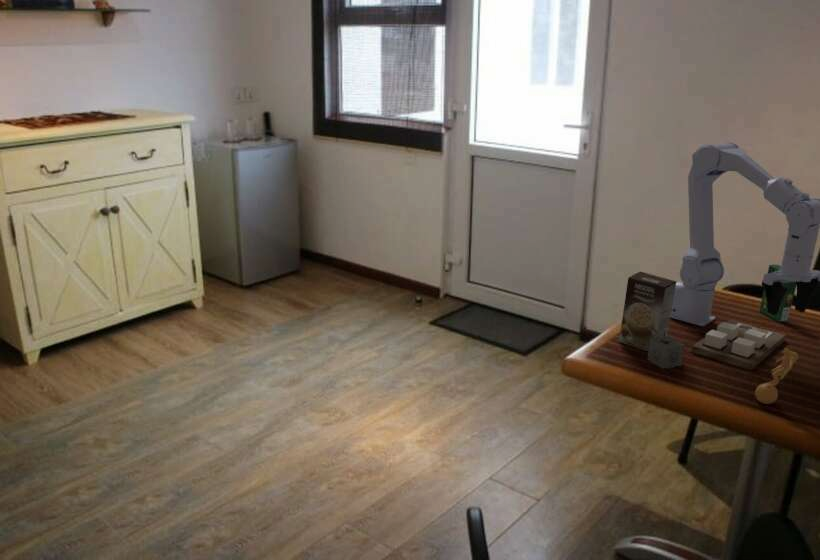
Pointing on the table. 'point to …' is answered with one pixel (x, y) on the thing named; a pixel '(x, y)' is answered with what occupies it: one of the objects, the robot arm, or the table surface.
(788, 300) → the coffee box
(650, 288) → the coffee box
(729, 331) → the button
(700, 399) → the table surface
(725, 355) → the board
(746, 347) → the button
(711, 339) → the button
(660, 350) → the grey cube with symbol
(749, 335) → the button
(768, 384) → the figurine
